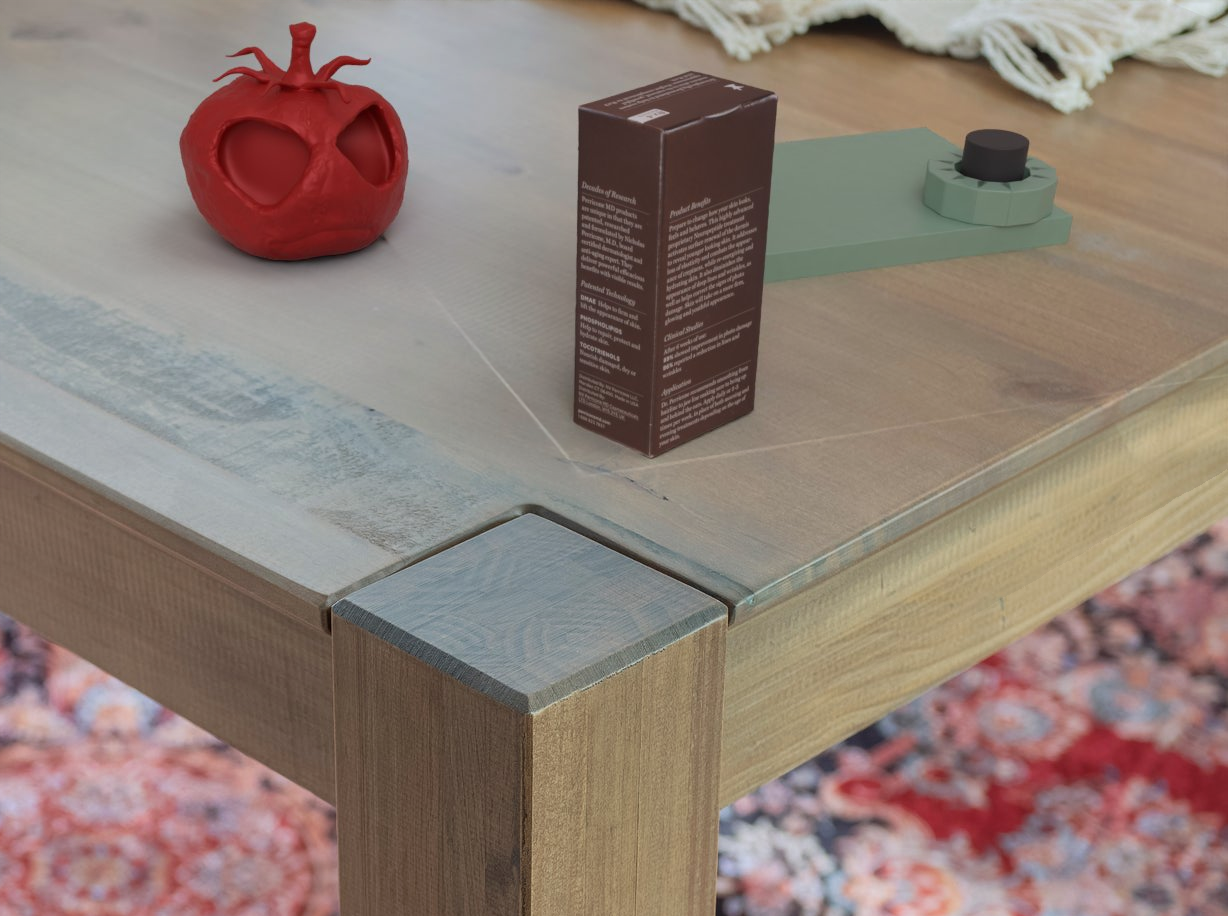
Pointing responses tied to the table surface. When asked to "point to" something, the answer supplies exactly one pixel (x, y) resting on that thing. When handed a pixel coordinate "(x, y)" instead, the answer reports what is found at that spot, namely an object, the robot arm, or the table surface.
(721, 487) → the table surface
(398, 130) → the tomato with eye holes
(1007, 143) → the button
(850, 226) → the scale
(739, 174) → the box
